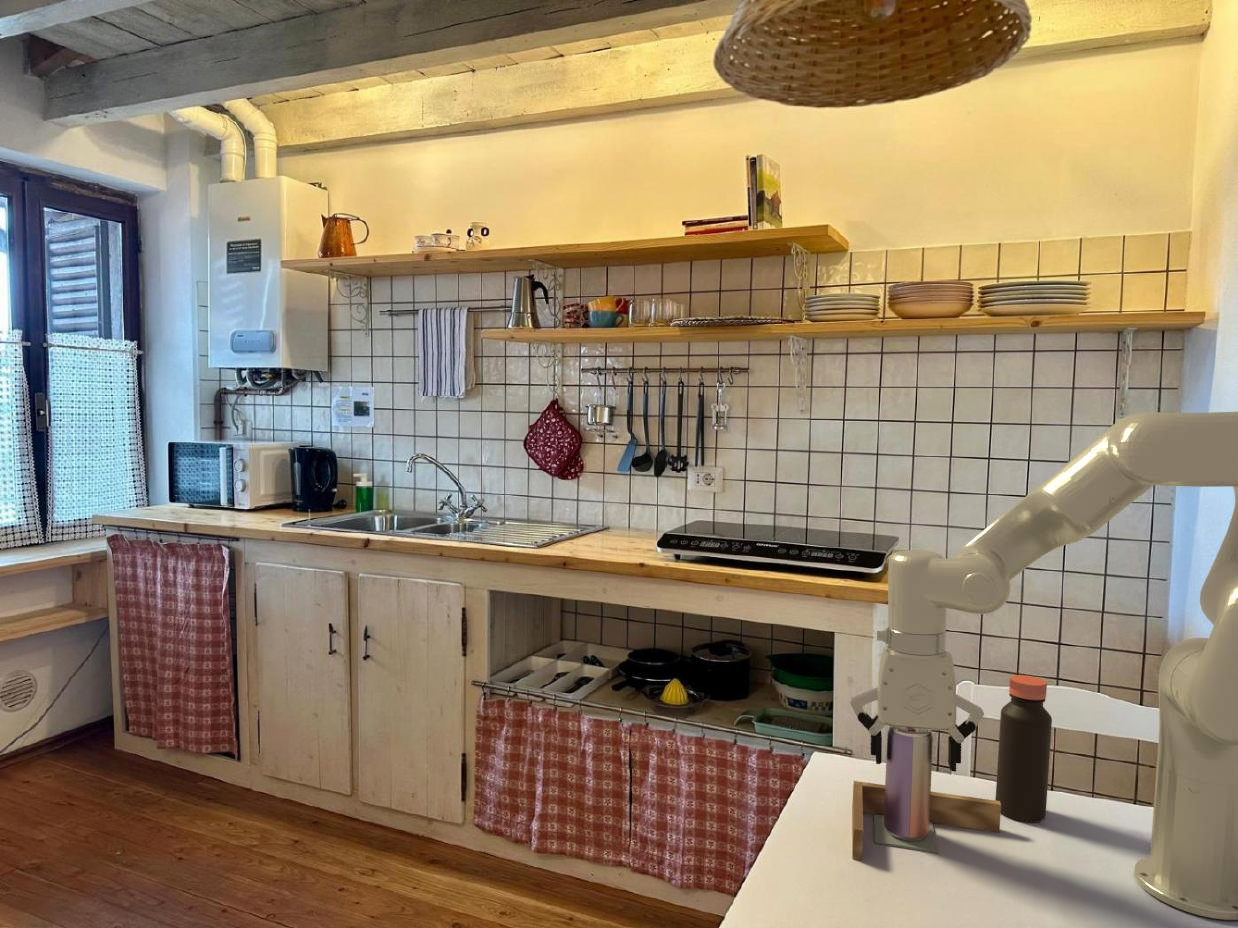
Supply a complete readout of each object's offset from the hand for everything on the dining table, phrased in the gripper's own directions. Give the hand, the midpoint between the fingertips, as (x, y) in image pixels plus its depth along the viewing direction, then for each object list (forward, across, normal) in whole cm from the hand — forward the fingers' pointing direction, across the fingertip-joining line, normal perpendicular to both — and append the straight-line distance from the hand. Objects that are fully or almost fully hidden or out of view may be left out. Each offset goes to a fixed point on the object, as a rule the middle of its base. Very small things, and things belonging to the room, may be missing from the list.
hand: (914, 763), depth 117 cm
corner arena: (+10, +2, -1) cm, 11 cm away
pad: (+10, -1, 0) cm, 10 cm away
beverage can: (+10, -1, 0) cm, 10 cm away
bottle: (+11, +16, +13) cm, 23 cm away
